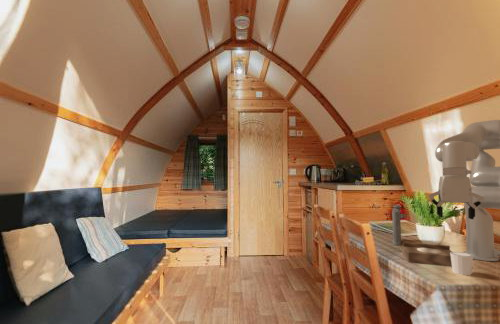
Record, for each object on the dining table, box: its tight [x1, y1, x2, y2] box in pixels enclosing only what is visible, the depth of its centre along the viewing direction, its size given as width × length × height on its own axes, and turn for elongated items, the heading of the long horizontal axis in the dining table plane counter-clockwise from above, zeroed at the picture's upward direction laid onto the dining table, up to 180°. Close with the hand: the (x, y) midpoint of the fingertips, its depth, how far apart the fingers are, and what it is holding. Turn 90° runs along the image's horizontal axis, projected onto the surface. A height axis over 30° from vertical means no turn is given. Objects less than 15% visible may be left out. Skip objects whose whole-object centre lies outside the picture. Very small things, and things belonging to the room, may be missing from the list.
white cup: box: [450, 251, 474, 276], centre depth 103 cm, size 7×7×7 cm
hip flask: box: [391, 205, 402, 246], centre depth 152 cm, size 16×4×20 cm, turn 152°
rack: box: [402, 241, 453, 267], centre depth 118 cm, size 18×12×6 cm, turn 71°
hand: (455, 217), depth 106 cm, fingers open, 9 cm apart
